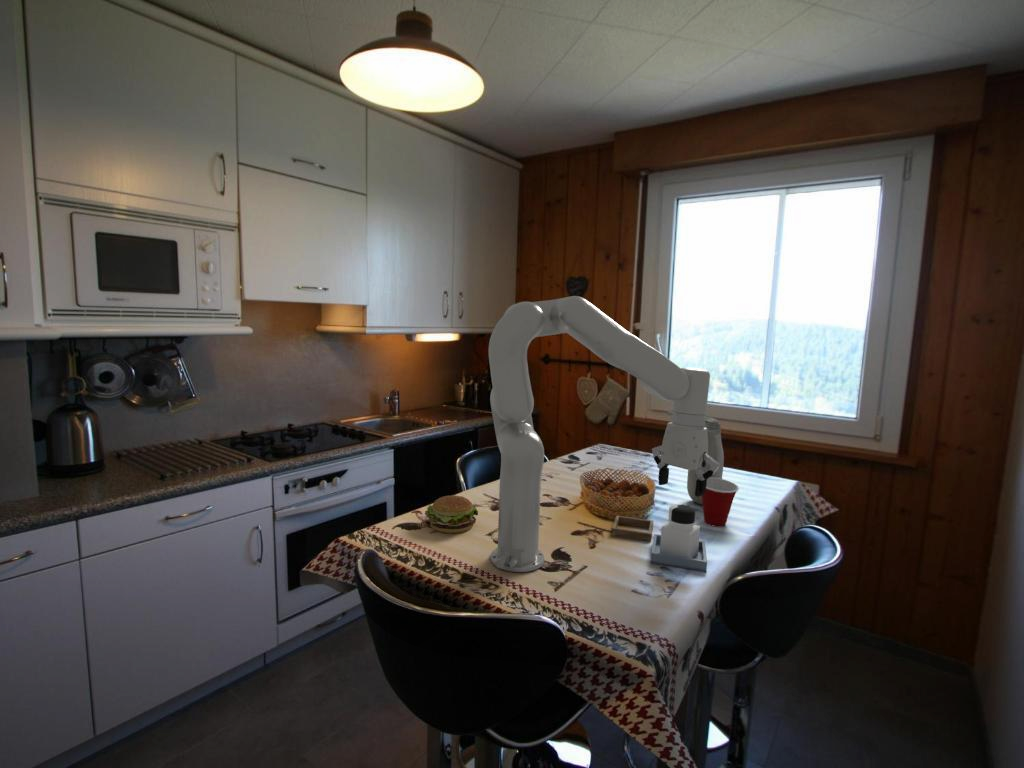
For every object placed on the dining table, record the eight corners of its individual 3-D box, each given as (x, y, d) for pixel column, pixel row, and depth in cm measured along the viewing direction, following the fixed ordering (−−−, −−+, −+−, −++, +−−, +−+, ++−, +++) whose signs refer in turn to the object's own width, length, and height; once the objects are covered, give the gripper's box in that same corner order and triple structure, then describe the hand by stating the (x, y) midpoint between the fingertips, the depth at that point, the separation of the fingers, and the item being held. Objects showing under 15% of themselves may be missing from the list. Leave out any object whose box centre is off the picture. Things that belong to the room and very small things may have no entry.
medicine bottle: (698, 553, 130) (702, 506, 128) (687, 563, 124) (691, 514, 123) (670, 545, 134) (673, 499, 133) (659, 554, 128) (662, 506, 127)
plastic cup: (711, 531, 145) (714, 489, 144) (687, 517, 156) (691, 478, 154) (744, 528, 148) (747, 487, 147) (718, 515, 159) (722, 476, 157)
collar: (650, 541, 137) (651, 534, 137) (611, 535, 140) (611, 528, 140) (653, 527, 147) (653, 520, 147) (616, 522, 150) (616, 515, 150)
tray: (706, 572, 121) (707, 562, 121) (650, 563, 125) (651, 553, 124) (704, 550, 133) (705, 541, 132) (653, 543, 136) (654, 533, 136)
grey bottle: (726, 507, 166) (733, 419, 163) (700, 510, 163) (707, 421, 159) (704, 497, 176) (710, 414, 172) (679, 499, 172) (685, 415, 169)
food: (414, 525, 143) (414, 497, 142) (455, 513, 153) (455, 486, 152) (446, 541, 133) (446, 510, 132) (487, 527, 143) (487, 499, 142)
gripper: (648, 414, 129) (641, 482, 130) (715, 428, 116) (706, 503, 118) (664, 412, 134) (658, 478, 135) (731, 425, 121) (722, 497, 123)
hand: (680, 489), depth 127 cm, fingers open, 9 cm apart
